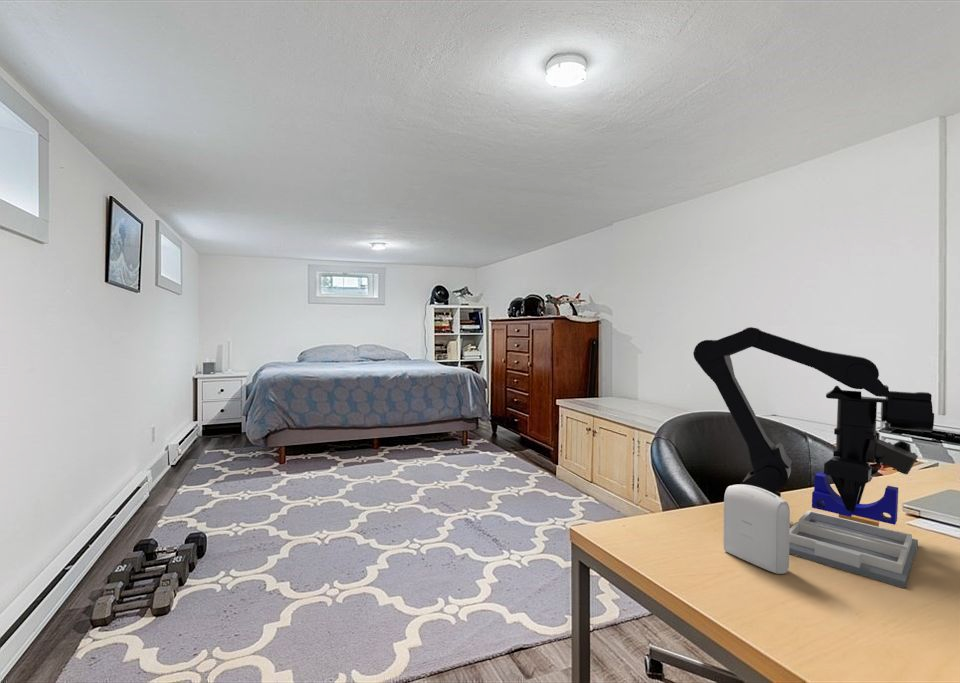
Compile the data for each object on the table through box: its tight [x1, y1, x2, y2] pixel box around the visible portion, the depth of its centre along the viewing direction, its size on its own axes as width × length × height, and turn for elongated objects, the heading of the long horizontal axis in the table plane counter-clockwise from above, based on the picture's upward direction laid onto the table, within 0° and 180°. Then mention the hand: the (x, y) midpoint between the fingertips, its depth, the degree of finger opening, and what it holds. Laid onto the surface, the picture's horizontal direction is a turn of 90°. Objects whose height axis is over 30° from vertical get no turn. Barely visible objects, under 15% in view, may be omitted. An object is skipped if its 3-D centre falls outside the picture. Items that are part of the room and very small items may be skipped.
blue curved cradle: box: [811, 471, 899, 526], centre depth 89 cm, size 12×4×6 cm, turn 44°
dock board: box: [789, 509, 919, 589], centre depth 86 cm, size 22×17×3 cm
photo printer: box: [723, 483, 791, 575], centre depth 80 cm, size 10×4×12 cm, turn 26°
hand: (853, 507), depth 89 cm, fingers closed on blue curved cradle, 4 cm apart
